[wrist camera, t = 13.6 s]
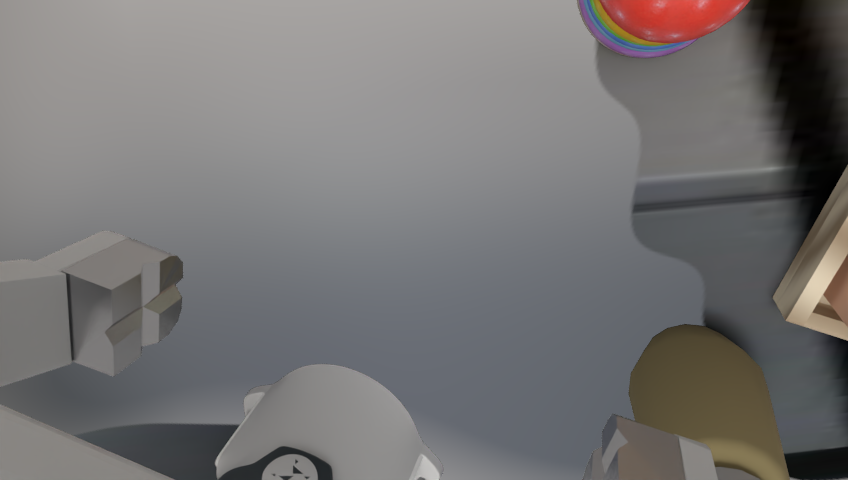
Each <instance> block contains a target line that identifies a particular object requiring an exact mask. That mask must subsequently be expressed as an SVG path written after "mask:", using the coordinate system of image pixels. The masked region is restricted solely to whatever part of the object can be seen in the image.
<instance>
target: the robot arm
mask: <svg viewBox="0 0 848 480" xmlns="http://www.w3.org/2000/svg"><path fill="white" fill-rule="evenodd" d="M182 278H183V262H182V261H181V260H180V259H179V257H178V256H176V255H173V254H171V253H168V252H165V251H163V250H160V249H158V248H155V247H152V246H150V245H147V244H145V243H142V242H140V241H137V240H134V239H131V238H129V237H126V236H124V235H121V234H118V233H115V232H112V231H101V232H99V233H97V234H94V235H92V236H90V237H88V238H85V239H83V240H81V241H79V242H77V243H75V244H73V245H70V246H68V247H65V248H63V249H61V250H59V251H57V252H54V253H52V254H50V255H48V256H45V257H43V258H41V259H39V260H37V261H35V262H34V261H31V260H28V259H23V260H13V261H3V262H0V387H2V386H5V385H8V384H11V383H14V382H17V381H20V380H23V379H26V378H29V377H32V376H35V375H38V374H41V373H44V372H48V371H51V370H54V369H57V368H59V367H63V366H66V365H69V364H71V363H72V361H73V362H75V363H78V364H81V365H84V366H86V367H89V368H92V369H94V370H97V371H100V372H102V373H105V374H108V375H111V376H113V377H114V376H115V375H117V374H118V373H119V372H121V371H122V370H123V369H125V368H126V367H127V366H129V365H130V364H131V363H133V362H134V361H135V360H137V359H138V358H139V357H140V356H141V354H142V347H143V346H146V345H151V344H155V343H159V342H160V341H161V340H162V339H164V338H165V337H166V336H167V335H169V333H170V332H171V331H172V329H173V327H174V326H175V325H176V323H177V322H178V319H179V316H180V312H181V309H182V297H181V295H180V293H179V291H178V289H177V287H176V284H177V283H178V282H179V281H180V280H181V279H182ZM244 411H245V419H244V420H243V422H242V423H241V424H240V426H239V427H238V428H237V430H236V431H235V433H234V434H233V435H232V437H231V438H230V439H229V441H228V442H227V444H226V445H225V446H224V448H223V449H222V451H221V452H220V453H219V455H218V457H217V459H216V462H215V465H216V467H217V472H216V474H217V479H218V480H439V479H440V477H441V475H442V474H443V465H442V463H441V462H440V460H439V459H438V458H437V457H436V455H435V454H434V453H433V452H432V451H431V450H430V449H429V448H428V447H427V446H426V445H425V444H424V443H423V441H422V439H421V437H420V435H419V433H418V431H417V428H416V426H415V424H414V422H413V420H412V418H411V416H410V414H409V413H408V411H407V410H406V408H405V407H404V406H403V404H402V403H401V402H400V401H399V400H398V399H397V398H396V397H395V396H394V395H393V394H392V393H391V392H390V391H389V390H388V389H387V388H385V387H384V386H383V385H381V384H380V383H379V382H377V381H376V380H374V379H372V378H370V377H369V376H367V375H365V374H363V373H361V372H358V371H355V370H353V369H350V368H347V367H343V366H338V365H332V364H313V365H307V366H304V367H300V368H298V369H295V370H293V371H291V372H290V373H288V374H287V375H285V376H284V377H283V378H282V379H280V380H279V381H277V382H276V383H274V384H271V385H263V386H258V387H255V388H252V389H251V390H250V391H249V392H248V394H247V395H246V396H245V398H244ZM422 477H423V478H422ZM424 478H425V479H424ZM0 480H174V479H172V478H170V477H167V476H165V475H163V474H161V473H158V472H156V471H154V470H151V469H149V468H147V467H144V466H142V465H140V464H137V463H135V462H133V461H130V460H128V459H126V458H123V457H121V456H119V455H117V454H114V453H112V452H110V451H107V450H105V449H103V448H100V447H98V446H96V445H93V444H91V443H89V442H86V441H84V440H82V439H79V438H77V437H75V436H73V435H70V434H68V433H66V432H63V431H61V430H58V429H56V428H54V427H52V426H49V425H47V424H45V423H42V422H40V421H38V420H35V419H33V418H31V417H28V416H26V415H24V414H22V413H19V412H17V411H14V410H12V409H10V408H8V407H5V406H3V405H1V404H0ZM582 480H718V477H717V473H716V469H715V465H714V461H713V457H712V453H711V449H710V448H709V447H708V446H707V445H706V444H703V443H700V442H697V441H694V440H691V439H688V438H685V437H682V436H679V435H676V434H674V435H673V434H670V433H667V432H665V431H662V430H659V429H656V428H653V427H650V426H647V425H645V424H642V423H639V422H636V421H633V420H630V419H627V418H624V417H622V416H619V415H616V414H612V415H611V416H610V418H609V419H608V420H607V423H606V425H605V427H604V429H603V431H602V447H601V448H598V449H596V450H594V451H593V453H592V455H591V457H590V459H589V461H588V464H587V466H586V469H585V473H584V476H583V479H582Z"/></svg>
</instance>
